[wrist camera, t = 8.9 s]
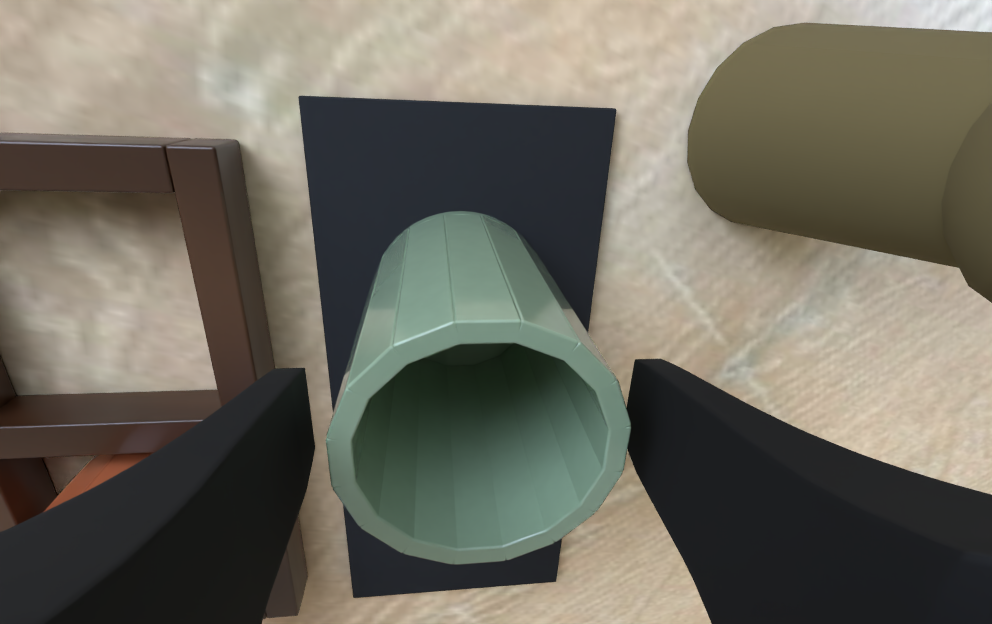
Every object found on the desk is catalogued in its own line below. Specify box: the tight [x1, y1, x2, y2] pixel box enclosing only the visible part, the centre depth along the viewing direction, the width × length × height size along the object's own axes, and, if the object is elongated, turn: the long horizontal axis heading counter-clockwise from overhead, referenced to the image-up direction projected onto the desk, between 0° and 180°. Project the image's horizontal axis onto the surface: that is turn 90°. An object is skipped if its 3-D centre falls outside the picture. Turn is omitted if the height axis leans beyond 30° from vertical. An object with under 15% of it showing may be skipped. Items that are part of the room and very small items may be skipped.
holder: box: [0, 133, 308, 619], centre depth 16 cm, size 18×9×2 cm, turn 178°
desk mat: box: [299, 96, 616, 598], centre depth 18 cm, size 20×9×1 cm, turn 178°
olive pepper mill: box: [688, 23, 992, 303], centre depth 11 cm, size 6×6×11 cm
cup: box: [326, 211, 631, 565], centre depth 13 cm, size 6×6×8 cm
